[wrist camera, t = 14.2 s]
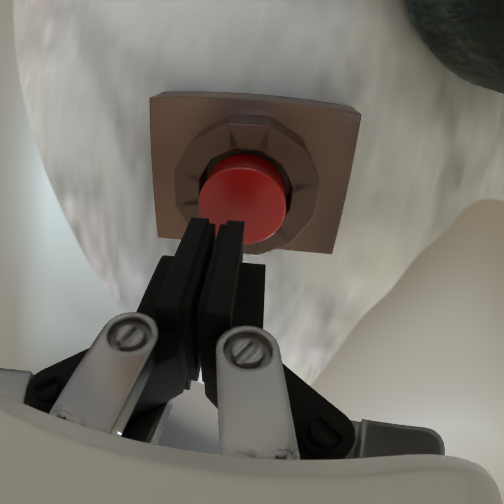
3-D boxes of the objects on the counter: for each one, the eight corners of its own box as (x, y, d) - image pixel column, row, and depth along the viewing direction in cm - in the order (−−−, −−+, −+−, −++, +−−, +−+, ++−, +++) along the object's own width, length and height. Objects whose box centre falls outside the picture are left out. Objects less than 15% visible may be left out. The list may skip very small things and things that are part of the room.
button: (289, 157, 13) (291, 171, 12) (280, 228, 15) (280, 248, 14) (207, 150, 13) (197, 163, 12) (206, 221, 16) (199, 240, 14)
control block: (351, 106, 15) (372, 122, 12) (327, 234, 20) (336, 274, 16) (164, 91, 15) (134, 104, 12) (168, 218, 20) (147, 255, 17)
